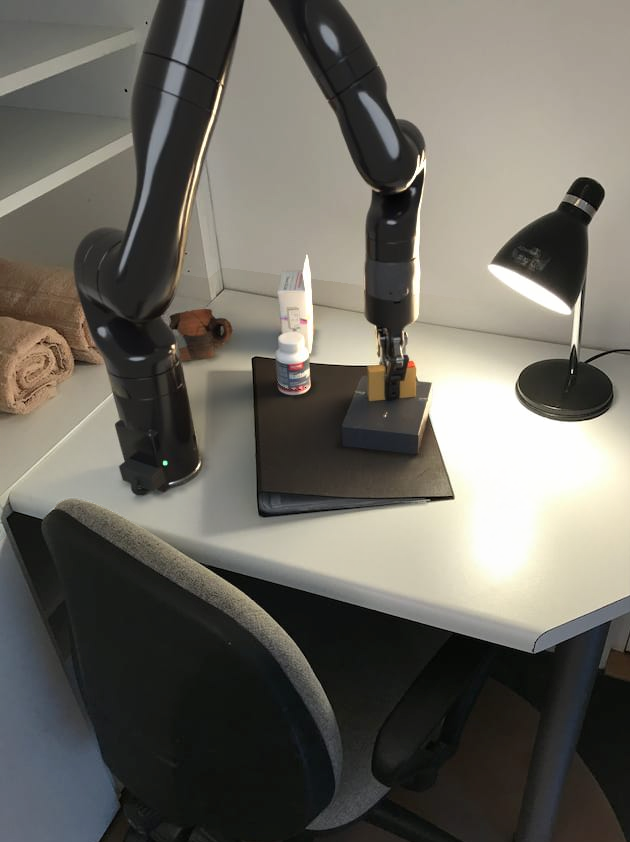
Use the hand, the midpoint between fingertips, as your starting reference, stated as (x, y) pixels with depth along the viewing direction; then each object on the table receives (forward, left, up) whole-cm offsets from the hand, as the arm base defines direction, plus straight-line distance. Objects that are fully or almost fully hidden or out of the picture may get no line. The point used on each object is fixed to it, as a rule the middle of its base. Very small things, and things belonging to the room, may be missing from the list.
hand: (390, 393), depth 112 cm
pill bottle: (+1, +17, -4) cm, 18 cm away
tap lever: (0, 0, 0) cm, 0 cm away
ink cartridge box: (+14, +24, -4) cm, 28 cm away
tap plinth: (-2, -1, -4) cm, 4 cm away
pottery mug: (+5, +38, -4) cm, 39 cm away
